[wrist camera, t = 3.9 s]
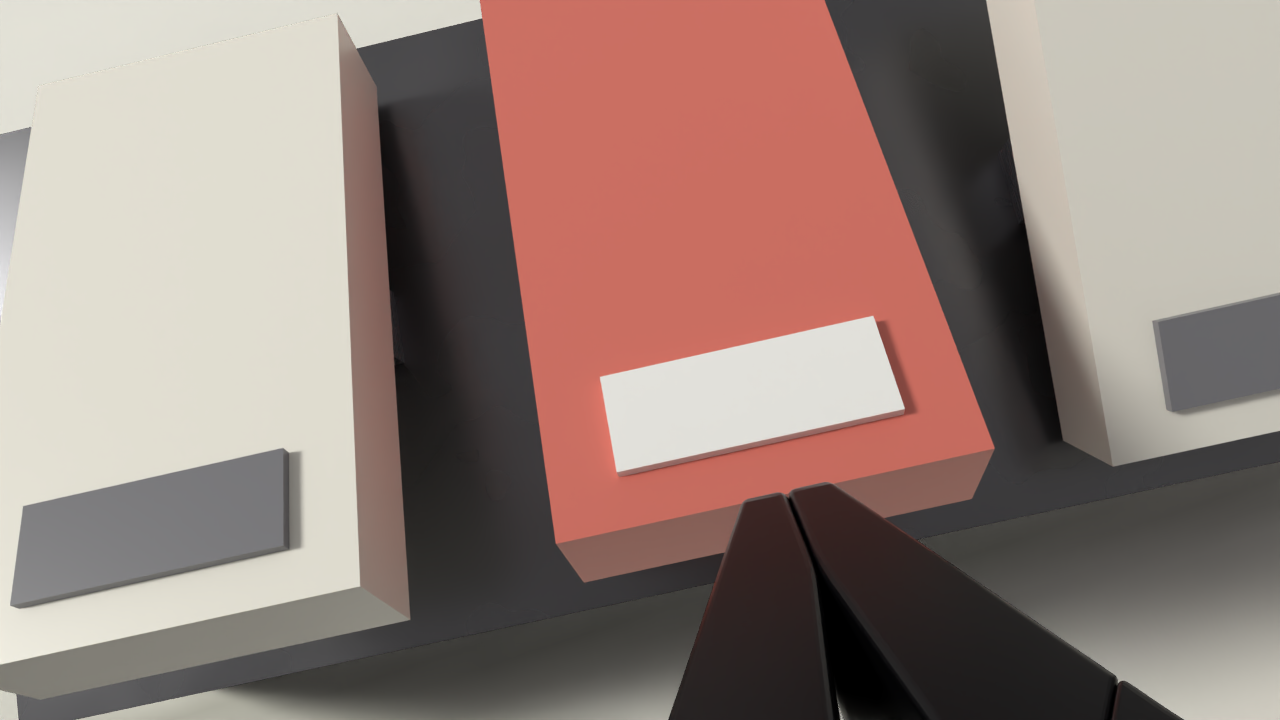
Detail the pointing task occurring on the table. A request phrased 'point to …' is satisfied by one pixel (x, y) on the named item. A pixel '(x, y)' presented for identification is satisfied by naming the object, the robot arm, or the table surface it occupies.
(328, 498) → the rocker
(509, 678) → the table surface
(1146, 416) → the rocker
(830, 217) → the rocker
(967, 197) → the grey cartridge tray
